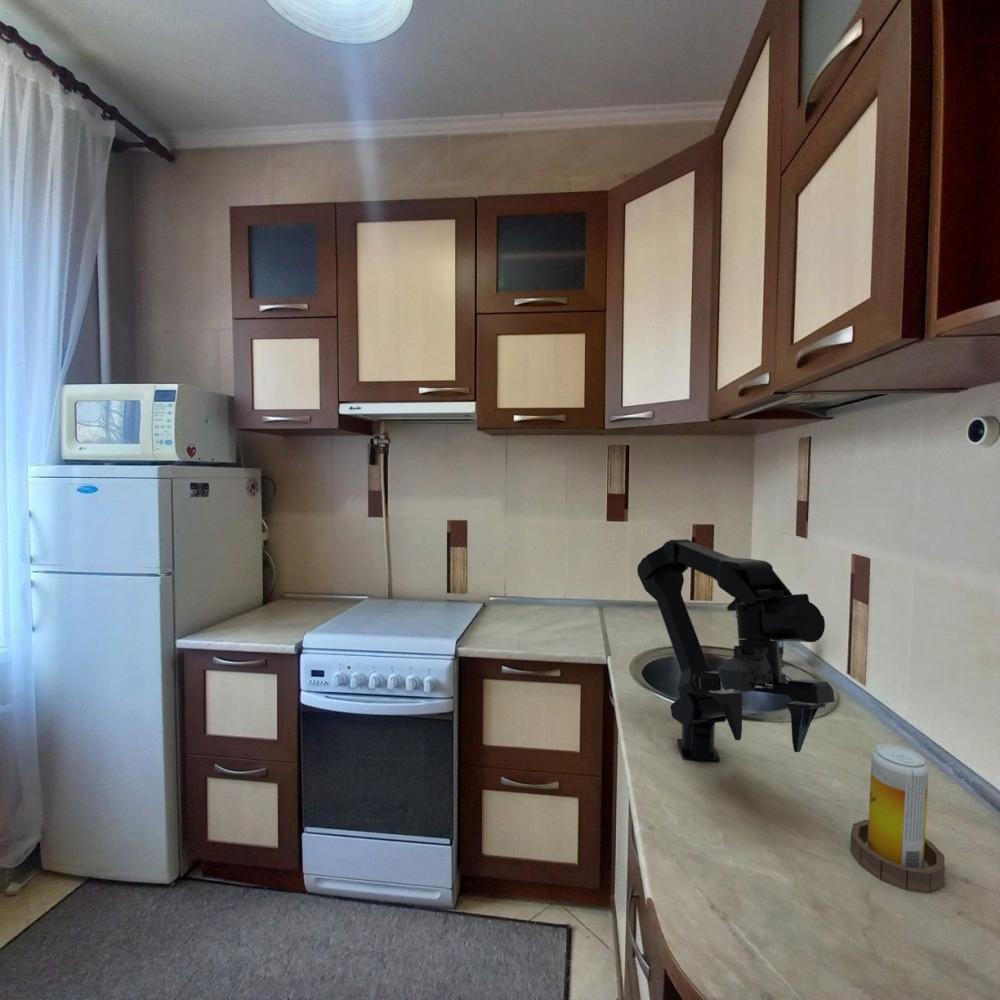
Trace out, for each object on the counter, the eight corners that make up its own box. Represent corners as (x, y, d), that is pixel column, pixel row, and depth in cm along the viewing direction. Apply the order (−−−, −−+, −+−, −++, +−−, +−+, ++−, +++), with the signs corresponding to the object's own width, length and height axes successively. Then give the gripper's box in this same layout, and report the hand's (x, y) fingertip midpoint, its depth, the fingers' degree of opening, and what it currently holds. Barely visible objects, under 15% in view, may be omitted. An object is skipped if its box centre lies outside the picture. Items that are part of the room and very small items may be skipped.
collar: (837, 833, 78) (838, 816, 77) (913, 840, 76) (914, 824, 76) (874, 886, 68) (875, 867, 68) (962, 896, 66) (964, 877, 66)
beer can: (893, 843, 75) (898, 741, 75) (935, 875, 70) (941, 764, 69) (856, 848, 74) (860, 744, 74) (895, 881, 68) (901, 769, 68)
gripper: (676, 637, 88) (681, 739, 84) (791, 642, 73) (803, 766, 69) (716, 638, 94) (722, 733, 90) (829, 642, 79) (842, 756, 75)
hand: (766, 745), depth 81 cm, fingers open, 9 cm apart
